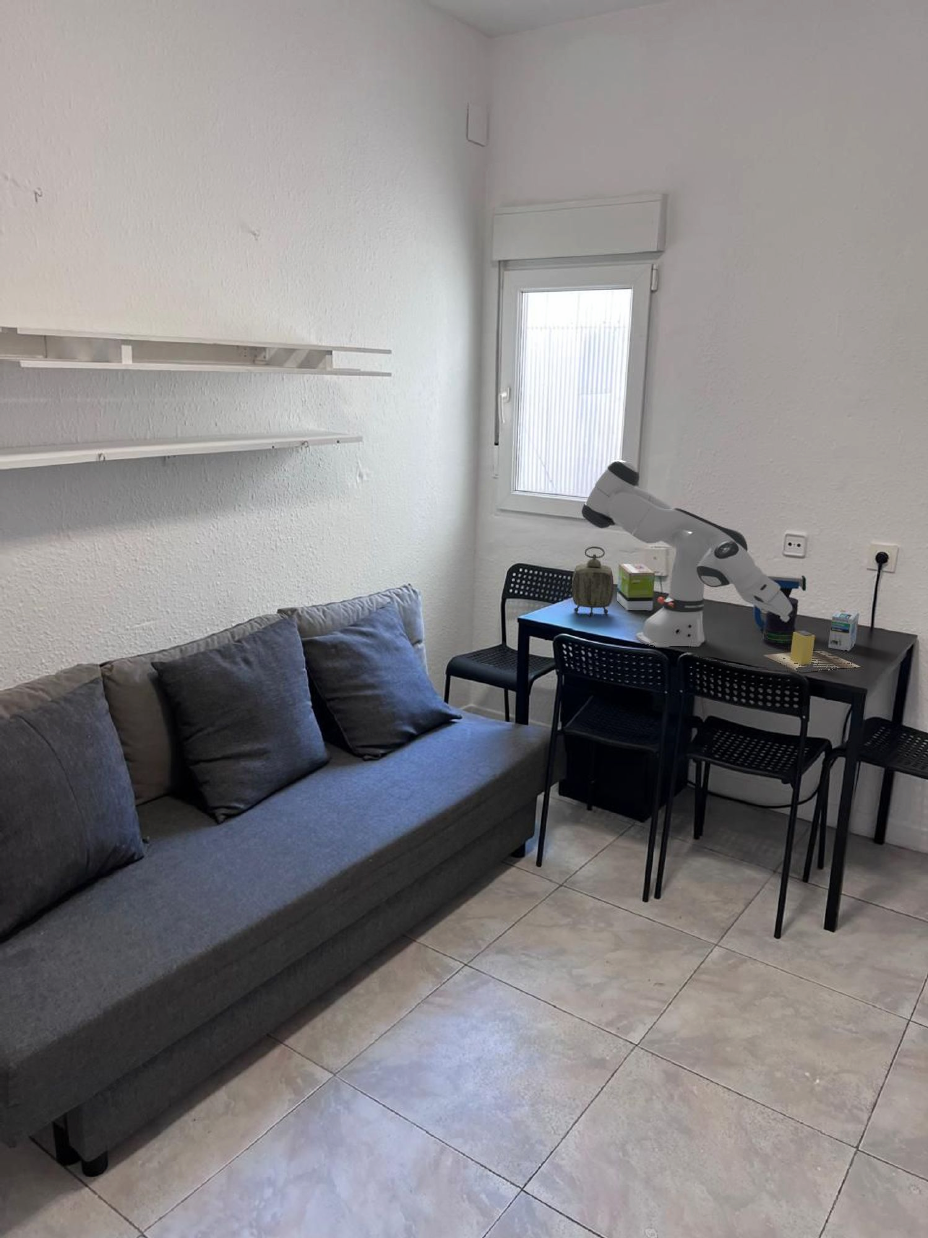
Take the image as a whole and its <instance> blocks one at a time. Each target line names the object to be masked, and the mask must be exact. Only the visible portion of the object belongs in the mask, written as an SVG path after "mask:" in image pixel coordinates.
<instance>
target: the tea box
mask: <svg viewBox="0 0 928 1238" xmlns="http://www.w3.org/2000/svg"><path fill="white" fill-rule="evenodd" d="M655 573H656V572H654V571H653V570H652V569H650V567H648V566H647V565H645V564H644V563H619V564H618V573H617V593H616V600H617V602H619V604H620V605H621V606H622V607H623V608H624V609H625V610H626V611H627V610H647V611H653V605H654V590H655V577H656V574H655Z"/></svg>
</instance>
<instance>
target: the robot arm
mask: <svg viewBox="0 0 928 1238" xmlns="http://www.w3.org/2000/svg"><path fill="white" fill-rule="evenodd" d="M606 468H607V469H606V470H604V472H603V473H602V474H601V476H600V477H599V478H598V480H597V481H596V483H595V484H594V487H593V489H592V490H591V492H590V493H589V496H588V498H587V499H586V502H584V504H583V505H582V509H581V514H582V518H584V520H585V521H586V522H587V523H588V524H589V525H591V526H592V527H596V528H599V529H605V528H609V527H610V526H615V525H616V524H617V525H618V526H619V527H621V528H622V529H623V530H624V531H626V532H627V533H628V534H630V535H632V536H633V537H634V538H636V539H637V540H639V541H640V542H643V543H646V544H656V543H660V542H663V543H664V544H667V545H668V546H670V547H672V548H674V549H675V557H674V562H673V564H672V569H671V571H670V579H669V587H668V588H669V592H668V595H667V597H666V598H664V597H662V596H659V597H658V598H657V602H658V604H659V603H660V604H661V605H662V608H660V609H659V610H658V611H656V612H655V613H654V614H652V615H650V616H649V617H648V618H647V619H646V620H645V622H644V625H643V630H642V631H640V632H637V633H636V635H635V637H636V639H637V640H638V641H640V642H641V643H643V644H645V645H647V644H649V645H648V646H650V645H654V646H655V648H670V647H669V646H689V647H690V646H691V647H692V648H693V647H701V645H702V643H704V642H705V640H706V639H705V634H704V628H703V626H704V625H703V613H704V610H705V597H704V596H705V595H704V594H705V585H706V586H708V587H710V588H720V587H727V586H728V585H730V584H731V585H733V586H734V588H735V590H736V592H737V593H738V595H739V596H740V598H741V599H742V600H743V601H745V602H746V603H748V604H751V605H753V606H754V605H755V606H756V607H758V608H759V609H760V610H761V613H763V614H766V613H767V612H768V611H770V612H773V613H775V614H777V615H780V616H781V617H780V618H781V619H782V620H783V621H785V622H787V621H788V620H789V616H788V614H789V613H790V612H791V611H792V605H791V604H790V602H789V601H788V599H787V598H786V596H785V595H784V594H783V593H782V592H781V591H780V588H781V587H780V586H779V585H778V584H777V583H776V582H774V581H773V580H771V579H769V578H768V577H767V576H766V575H767V574H765V572H763V571H762V570H761V568H760V567H759V566H757V565H756V563H755V560H754V559H753V557H752V556H751V555H750V554H749V552H748V549H749V548H748V544H747V543H748V542H747V540H746V538H745V537H744V535H743V533H741V532H739V531H737V530H735V529H731V528H728V527H723V526H721V525H718V524H717V523H714V522H713V521H709V520H708V519H705V518H703V517H701V516H698V515H696V514H695V513H692V512H690V511H687V510H684V509H682V508H679V507H673V506H671V505H670V504H668V503H666V502H664V501H663V500H662V499H660V498H659V497H656V496H655V495H653V494H651V493H650V492H648V491H646V490H644V489H642V488H640V487H638V486H639V482H640V481H639V480H640V473H639V471H638V470H637V468H636V467H635V466H634V465H633V464H632V463H630V462H628V461H625V460H621V459H615V460H613V461H611V462H610V464H609V465H607V467H606ZM654 646H653V647H654ZM691 647H690V648H691Z"/></svg>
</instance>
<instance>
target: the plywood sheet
mask: <svg viewBox="0 0 928 1238" xmlns="http://www.w3.org/2000/svg"><path fill="white" fill-rule="evenodd" d="M813 652H814V653H813V655H814V656H812V658H830V659H812V660H816V661H812V662H814V663H818V662H819V663H842V664H818V665H827V666H813V667H826V668H827V667H831V668H833V667H834V668H835V667H837V668H841V667H842V668H843V667H844V668H847V669H854V667H856V668H861V666H859V665H858V664H855V663H853V662H851V661H848V660H846V659H843V658H842V657H839V656H836V655H834V656H828V655H833V654H832V653H830V652H827V651H825V650H823V651H813ZM820 652H822V653H820ZM815 655H818V656H815ZM820 655H826V656H820ZM763 656H764V657H766V658H767V659H770V660H772V661H774V662H776V663H779V664H780V663H781V665H783V666H784V665H785V667H787V668H789V669H791V670H793V671H795V672H797V670H796V668H798V667H807V666H801V665H800V664H794V663H795V662H793V661H791V660H790V656H791V652H784V653H783V652H781V653H772V654H763ZM783 658H785V659H783ZM833 658H839V659H833ZM818 660H823V661H818ZM844 663H845V664H844ZM847 663H850V664H847ZM851 663H852V664H851ZM786 665H787V666H786ZM799 665H800V666H799ZM809 665H810V664H809ZM813 665H817V664H813ZM828 665H834V666H828ZM835 665H837V666H835ZM838 665H840V666H838ZM843 665H844V666H843ZM846 665H847V666H846ZM851 665H852V666H851ZM808 667H809V666H808ZM819 670H820V669H819ZM821 670H822V669H821ZM828 671H834V670H833V669H832V670H830V669H828Z"/></svg>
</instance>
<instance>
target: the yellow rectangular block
mask: <svg viewBox="0 0 928 1238" xmlns="http://www.w3.org/2000/svg"><path fill="white" fill-rule="evenodd" d="M815 637H816V635H814V634H813V633H811V632H809V631H808V632H807V631H806V630H795V632H793V639H792V647H790V653H791V656H790V660H791V661H793V662H795V663H798V664H800V665H804V664H811V662H812V655H813V650H814V646H815Z"/></svg>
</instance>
